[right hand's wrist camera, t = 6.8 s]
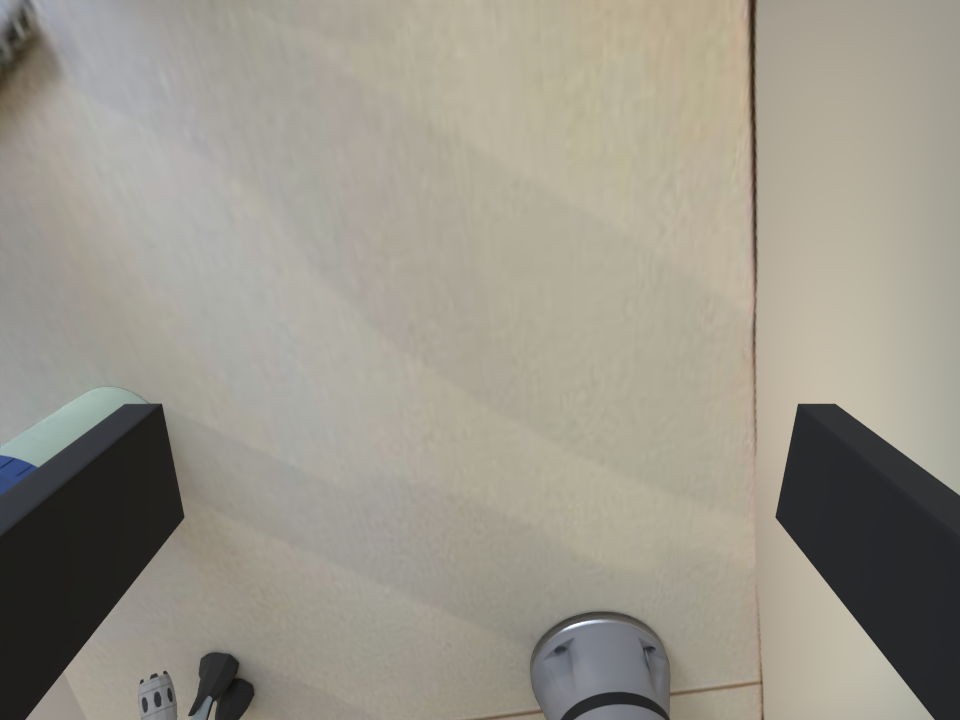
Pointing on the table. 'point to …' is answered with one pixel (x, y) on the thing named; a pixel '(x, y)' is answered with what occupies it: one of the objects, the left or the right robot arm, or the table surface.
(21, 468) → the lid
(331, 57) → the table surface
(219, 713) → the robot
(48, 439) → the jar
